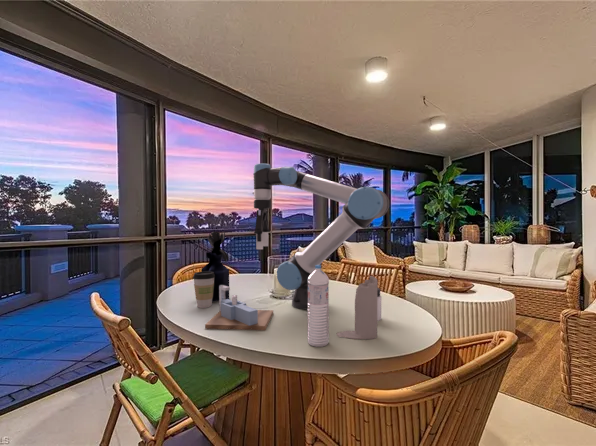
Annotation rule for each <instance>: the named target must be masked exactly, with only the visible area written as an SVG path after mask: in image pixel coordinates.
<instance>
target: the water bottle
mask: <svg viewBox="0 0 596 446" xmlns="http://www.w3.org/2000/svg"><path fill="white" fill-rule="evenodd" d="M315 269H316V270H315V271H313V272H312V273H311V274H310V275H309V277H308V279H307V280H308V281H307V282H308V309H307V344H309V346H311V347H316V348H323V347H326V346H328V344H329V340H330V321H329V320H330V302H329V300H330V298H329V295H330V294H329V288H330V287H329V283H330V278H329V277H328V274H326V273H325V272H324V271H323V270H322V264H321V265H315Z"/></svg>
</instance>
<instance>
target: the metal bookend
mask: <svg viewBox="0 0 596 446" xmlns="http://www.w3.org/2000/svg"><path fill="white" fill-rule="evenodd" d="M377 288H378V278H377V277H375V276H373V275H370V276H369V279H365V280H364V282H363V283H359V284H358V286H357V287H356V290H355V297H354V330H343V331H341V332H336V336H337V337H338V338H346V339H350V340H351V339H352V340H353V339H354V340H373V339H376V338H377V337H378V321H377V306H378V302H377Z"/></svg>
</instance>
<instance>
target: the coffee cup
mask: <svg viewBox="0 0 596 446" xmlns="http://www.w3.org/2000/svg"><path fill="white" fill-rule="evenodd" d="M214 278H215V275H214V272H210V271H204V272H202V271H197V272H194V274H193V275H192V279H193V283H194V284H193V286H194V291H195V292H194V294H195V300H196V307H197V308H198V309H205V308H210V307H212V305H213V304H212V303H213V302H212V298H213V289H214Z"/></svg>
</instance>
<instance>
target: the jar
mask: <svg viewBox="0 0 596 446" xmlns="http://www.w3.org/2000/svg"><path fill="white" fill-rule="evenodd" d="M377 302H378V306H377V322H379V321H382V296H381V288H379V287H377Z"/></svg>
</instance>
